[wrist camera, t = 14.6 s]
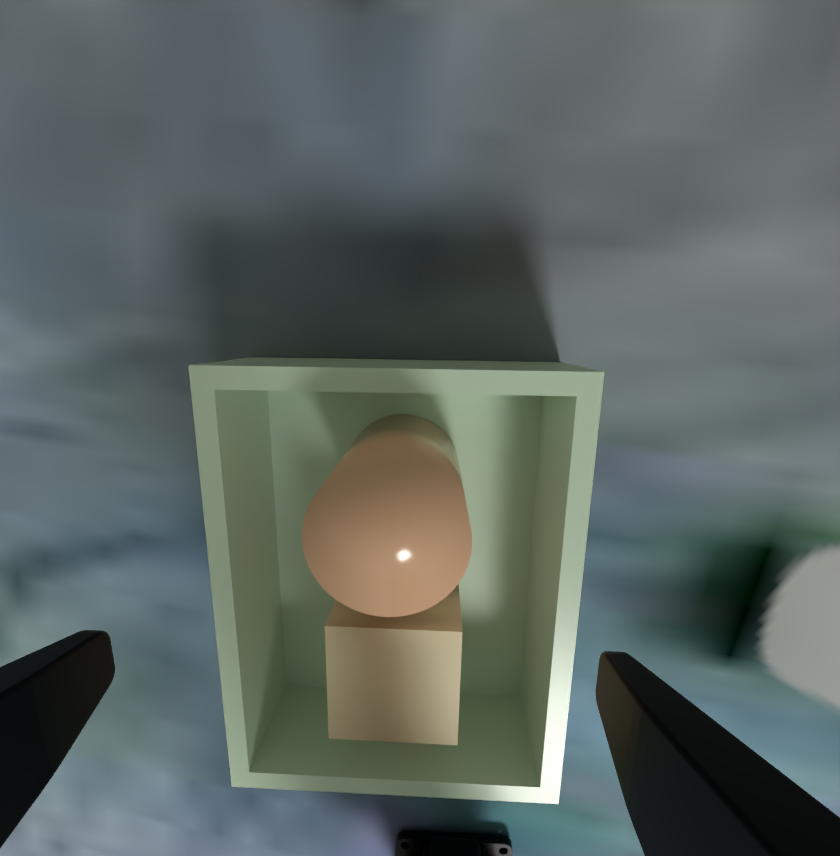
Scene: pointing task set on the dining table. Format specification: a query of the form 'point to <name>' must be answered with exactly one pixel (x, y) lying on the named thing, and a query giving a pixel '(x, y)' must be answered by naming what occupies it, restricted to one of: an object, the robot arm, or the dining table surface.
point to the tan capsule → (391, 520)
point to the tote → (478, 589)
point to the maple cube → (395, 674)
